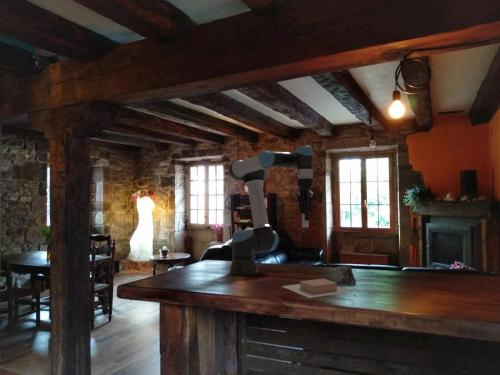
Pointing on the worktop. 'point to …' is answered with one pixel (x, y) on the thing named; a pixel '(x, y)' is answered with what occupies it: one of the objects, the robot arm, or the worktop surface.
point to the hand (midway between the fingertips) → (305, 227)
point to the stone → (345, 275)
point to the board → (310, 295)
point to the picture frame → (318, 285)
